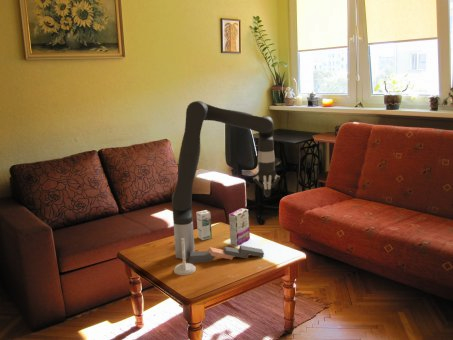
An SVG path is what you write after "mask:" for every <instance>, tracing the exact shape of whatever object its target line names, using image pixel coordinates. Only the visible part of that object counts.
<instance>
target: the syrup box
mask: <svg viewBox="0 0 453 340" xmlns="http://www.w3.org/2000/svg"><path fill="white" fill-rule="evenodd" d="M195 213H196V214H195V215H196V224H197V225H196V227H197V237H198V238H199V239H200V240H201V241H206V240H209V239H212V238H213V232H212V220H211V219H212V217H211V211H209V210H207V209H205V210H201V211H196V212H195Z"/></svg>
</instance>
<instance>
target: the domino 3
mask: <svg viewBox="0 0 453 340" xmlns="http://www.w3.org/2000/svg"><path fill="white" fill-rule="evenodd" d="M207 251H209V253H210V254H211V255H212V256H214V257H216V258H217V257H218V258H223V259H226V260H233V258H234V256H231V255H226V254H225V252H224V249H220V248H215V247H211V246H210V247H208V250H207Z"/></svg>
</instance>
